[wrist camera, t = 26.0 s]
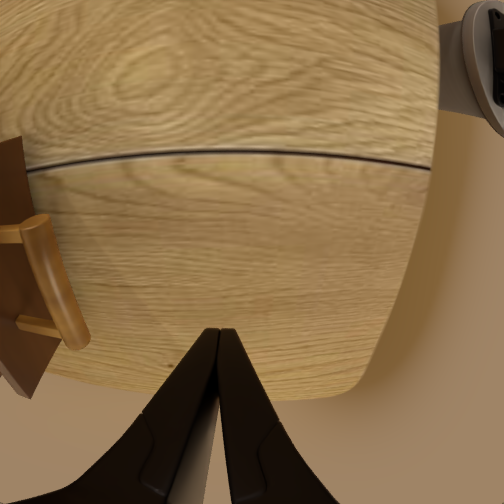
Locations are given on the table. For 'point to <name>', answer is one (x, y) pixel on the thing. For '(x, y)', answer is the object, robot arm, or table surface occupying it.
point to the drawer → (31, 282)
